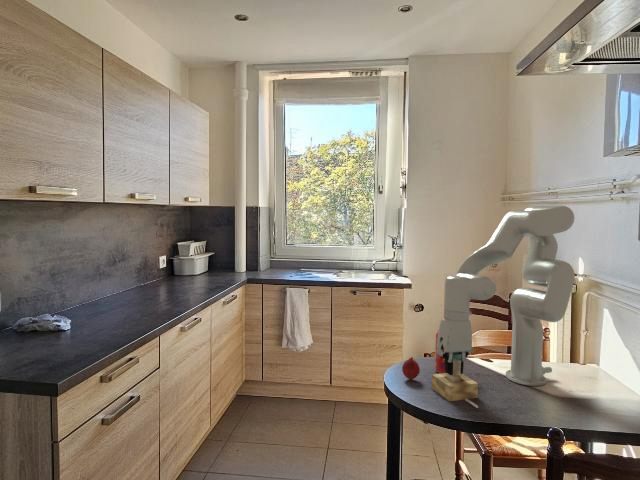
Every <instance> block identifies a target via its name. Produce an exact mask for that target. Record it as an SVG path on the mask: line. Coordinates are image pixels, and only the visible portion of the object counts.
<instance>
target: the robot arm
mask: <svg viewBox="0 0 640 480" xmlns="http://www.w3.org/2000/svg"><path fill="white" fill-rule="evenodd" d="M574 223H575V213H574V211H573V210H572V209H571V208H570V207H569V206H567V205H533V206H528V207H526V208H525V209H523V210H522V209H521V210H520V209H519V210H510V211H508V212H507V213H506V214H504V216H503V217H502V219H501V221H500V222H499V224H498V225H497V227H496V229H495V230H494V232H493V233H492V235H491V237H490V238H489V239H488V242H486V244H485V245H484V246H482V247H480V248H478V249H477V250H476V251H475V252H473V253H472V254H470V255H469V256H468V257H466V259H464V260H463V261H462V263H461V265H460V266H459V267H458V269H457V271H456V272H455V274H454V275H449V276H447V277H446V278H445V282H444V300H443V301H444V303H443V305H444V307H443V318H441V319H440V322H439V327H438V330H439V331H438V330H437V332H438V339H437V347H438V348H437V350H436V353H437V354H438V355H440V356H442V357H443V359H444V360H445V372H446V373H448V374H449V375H453V362H452V356H453V353H455V352H458V353H460V354H461V374H463V375H464V365H465V364H464V363H465V362H466V359H467V357H468V356H469V355H470V354H471V353H473V352H474V347H473V330H472V329H473V328H472V323H471V320H470V316H472V314H473V313H472V311H471V310H470V303H471V302H470V301H471V300H479V301H486V300H489V299H491V298H493V297H494V295H495V293H496V292H497V285H496V282H494V280H493V279H492V278H490V277H489V276H486V275H485V276H484V275H480V274H479V273H481V272H482V271H483V270H485V269H486V268H488V267H490V266H493V265H497V264H500V263H503V262H505V261H507V260H509V259H511V258H512V257H513V255H514V254H515V252H516V250H517V249H518V247H519V245H520V243H521V242H522V241H523V239H524V237H529V241H530V242H529V244H530V245H529V248H528V253H527V256H526V260H525V263H524V265H523V266H524V267H523V272H522V277H523V278H522V279H523V280H524V281H525V282H526V283H527V284H530V285H534V286H537V287H541V288H546V290H543V289H542V290H541V289H536V288H531V287H519V288H516V289H515V290H514V291H513V292H512V293H511V295H510V301H509V303H510V304H509V305H510V311H511V316H512V317H511V318H512V320H511V321H512V324H511V325H512V329H511V330H512V331H511V333H512V334H511V352H510V353H511V356H510V357H511V358H510V369H508V370H507V371H505V377H506V379H508V380H509V381H511V382H513V383H515V384H520V385H524V386H533V387H538V386H539V387H540V386H544V385H546V384H547V378H546V377H545V376H544V375H545V374H550V373H552V372H553V369H552V367H551V366H545V367H544V366H543V342H544V341H543V340H544V327H543V324H542V321H545V322H549V323H558V322H560V321H561V320H562V319H563V318H564V316H565V314H566V311H567V309H568V305H569V302H570V300H571V299H570V298H571V296H572V295H571V294H572V291H573V287H574V282H575V272H574V268H573V266H572V265H571V264H570V263H569V262H567V261H564V260H560V259H556V258H557V253H558V250H559V249H558V248H559V247H558V245H559V244H558V242H557V239H556V237H555V234H560V233H563V232H564V233H565V232H566V231H568V230H570V228H572V226H573V225H574ZM443 349H444V353H443Z"/></svg>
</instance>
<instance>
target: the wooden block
mask: <svg viewBox="0 0 640 480" xmlns="http://www.w3.org/2000/svg"><path fill="white" fill-rule="evenodd" d="M446 378H447V373H442V374H440V373H434V374H431V386H430V387H431V389H432V390H433V391H435V392H436V393H438V394H439V395H440V396H441V397H443V398H444V399H446V400H447V401H448V402H455V401H463V400H464V401H465V399H466V398H467V399H468V400H470V399H471V400H472V399H476V398H478V397H479V396H478V394H479V382H477V381H475V380H473V379H471V378H470V377H468V376H466V375H464V373H463V374H461V378H460V382H454V383H452V382H450V381H449V380H447V379H446Z"/></svg>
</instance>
